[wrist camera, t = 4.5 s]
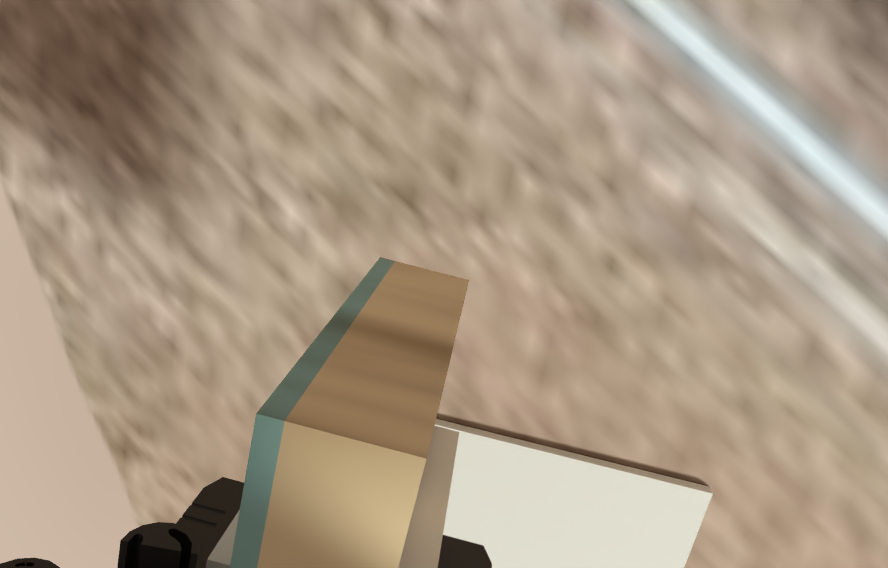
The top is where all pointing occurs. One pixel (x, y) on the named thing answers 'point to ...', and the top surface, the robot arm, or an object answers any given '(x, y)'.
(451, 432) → the robot arm
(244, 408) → the top surface
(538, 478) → the mat
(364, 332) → the tile
